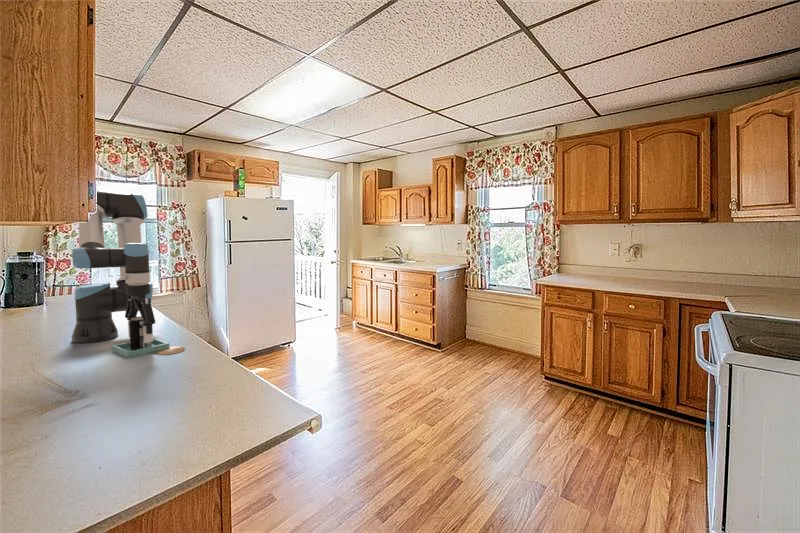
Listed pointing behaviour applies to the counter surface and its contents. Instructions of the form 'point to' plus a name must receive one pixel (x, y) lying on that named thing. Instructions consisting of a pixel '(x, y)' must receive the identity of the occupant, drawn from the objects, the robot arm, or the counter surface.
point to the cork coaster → (170, 350)
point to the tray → (128, 353)
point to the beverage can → (137, 334)
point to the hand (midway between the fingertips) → (140, 339)
